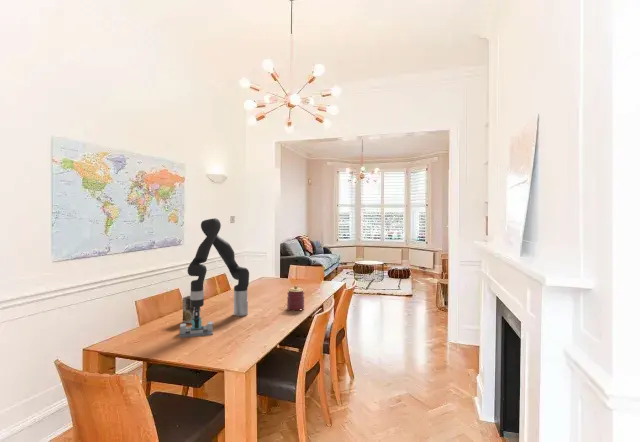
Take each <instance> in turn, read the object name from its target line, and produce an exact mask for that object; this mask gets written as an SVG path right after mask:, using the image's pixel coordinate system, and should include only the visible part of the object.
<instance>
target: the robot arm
mask: <svg viewBox="0 0 640 442" xmlns="http://www.w3.org/2000/svg"><path fill="white" fill-rule="evenodd" d="M220 221H221V220H219V219H218V218H210V219H209V218H208V219H204V220H202V221H201V223H200V229H201V231H202V233H203V234H204V235H205V238H204V239H203V240H202V242H201V243H200V245H199V246H198V247H197V250H196V252H195V253H196V254H195V256H194V258H193V259H192V261H191V262H190V264H189V265H188V267H187V274H188V275H189V276H190V277H198V278H197V279H193V280H191V281H190V293H189V296H190V306H191V307H195V309H193V313H194V322H195V328H199V317H201V311H202V310H201V307H203V306H204V305H205V303H204V302H205V301H204V300H205V299H204V298H205V296H204V295H205V293H204V283H205V278H206V275H207V266H206V265H205V263H206V262H207V260H208V257H209V255H210V251H211V249H212V246H213V247H214V248H215V250H216V252H217V253H218V255H219V256H220V258H221V259H222V261H223V262H224V264H225V266H226V267H227V269H228V270H229V273H230V275H231V276H232V278H233V279H234V280H237V281H238V282H237V284H236V285H234V287H233V316H236V317H244V316H247V315H248V310H249V309H248V308H249V307H248V306H249V305H248V304H249V303H248V302H249V301H248V288H249V284H250V282H249V281H250V271H249V268H247V267H242V266H239V265H238V263H237V261H236V259H235V258H236V257H235V251H234V249H233V247H232V245H231V244H230V243H229V242H228V241H227V240H225V239H224V238H222V237H220V236H219V232H220V230H221V227H222V224H221V222H220ZM195 318H198V320H195Z"/></svg>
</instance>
